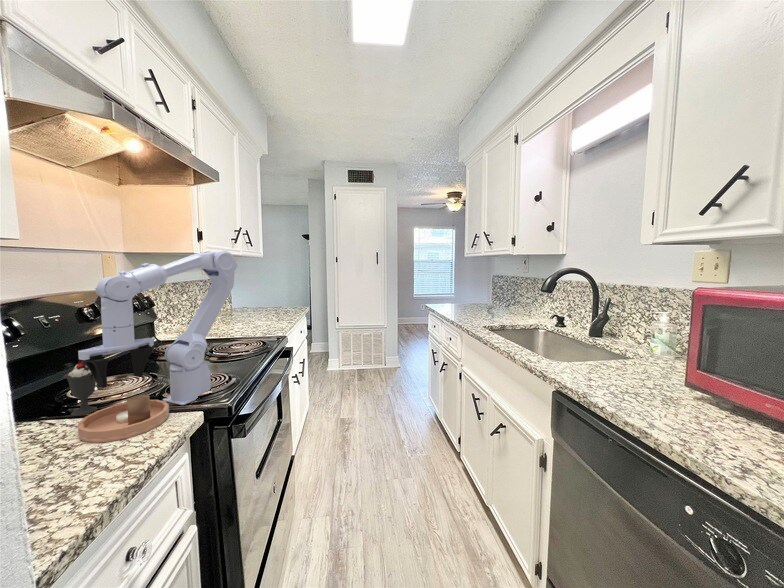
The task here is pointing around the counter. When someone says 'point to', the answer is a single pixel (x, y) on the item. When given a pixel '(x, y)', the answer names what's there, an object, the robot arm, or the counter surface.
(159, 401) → the groove tray
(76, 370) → the sundae
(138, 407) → the brown cylinder
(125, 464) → the counter surface
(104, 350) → the robot arm
